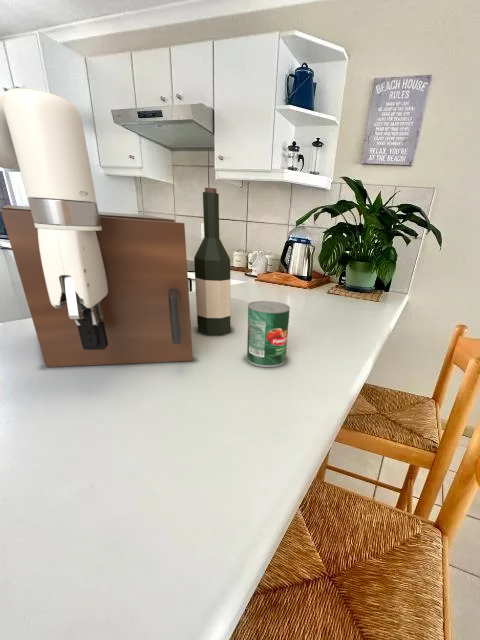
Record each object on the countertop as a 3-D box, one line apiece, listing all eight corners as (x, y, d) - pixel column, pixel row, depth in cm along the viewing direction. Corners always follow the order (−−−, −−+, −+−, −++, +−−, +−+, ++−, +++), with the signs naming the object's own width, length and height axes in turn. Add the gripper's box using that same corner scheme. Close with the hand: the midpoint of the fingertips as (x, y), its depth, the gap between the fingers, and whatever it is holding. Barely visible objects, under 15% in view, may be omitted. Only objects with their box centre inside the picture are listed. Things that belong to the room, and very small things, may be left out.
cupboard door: (194, 373, 57) (185, 224, 46) (34, 381, 50) (-21, 209, 39) (192, 358, 63) (184, 222, 52) (48, 364, 55) (3, 209, 45)
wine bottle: (237, 333, 78) (238, 190, 65) (204, 337, 74) (198, 185, 60) (223, 323, 84) (221, 190, 71) (191, 326, 80) (183, 186, 66)
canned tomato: (251, 350, 69) (252, 298, 64) (287, 354, 69) (291, 303, 64) (242, 365, 62) (243, 308, 57) (283, 369, 62) (287, 313, 57)
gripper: (58, 214, 48) (85, 332, 56) (2, 214, 35) (48, 368, 43) (113, 218, 49) (131, 332, 58) (79, 219, 37) (109, 366, 45)
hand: (96, 347), depth 51 cm, fingers closed
